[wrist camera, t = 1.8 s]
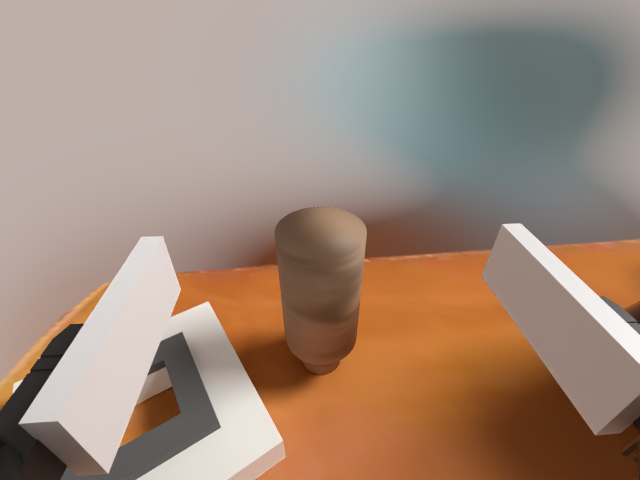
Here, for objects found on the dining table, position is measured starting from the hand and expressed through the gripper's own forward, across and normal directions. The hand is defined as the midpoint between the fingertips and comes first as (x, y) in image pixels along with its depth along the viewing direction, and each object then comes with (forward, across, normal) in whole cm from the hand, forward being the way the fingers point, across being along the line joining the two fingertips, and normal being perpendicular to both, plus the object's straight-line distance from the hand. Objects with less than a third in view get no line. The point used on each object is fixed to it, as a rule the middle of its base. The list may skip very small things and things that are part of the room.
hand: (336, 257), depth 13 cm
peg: (+10, 0, -21) cm, 23 cm away
